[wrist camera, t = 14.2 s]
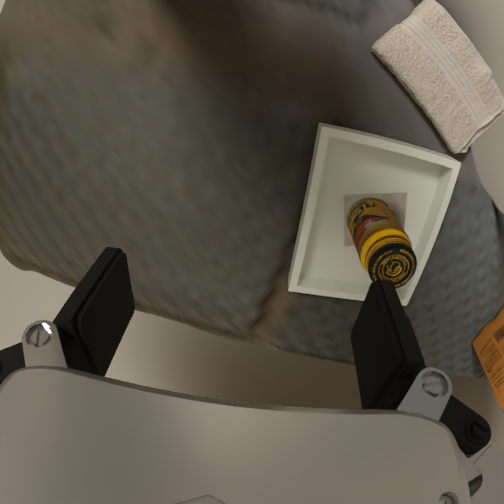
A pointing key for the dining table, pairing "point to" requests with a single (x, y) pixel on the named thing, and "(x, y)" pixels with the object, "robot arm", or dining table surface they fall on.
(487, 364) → the coffee package
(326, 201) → the tray
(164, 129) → the dining table surface
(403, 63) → the washcloth
